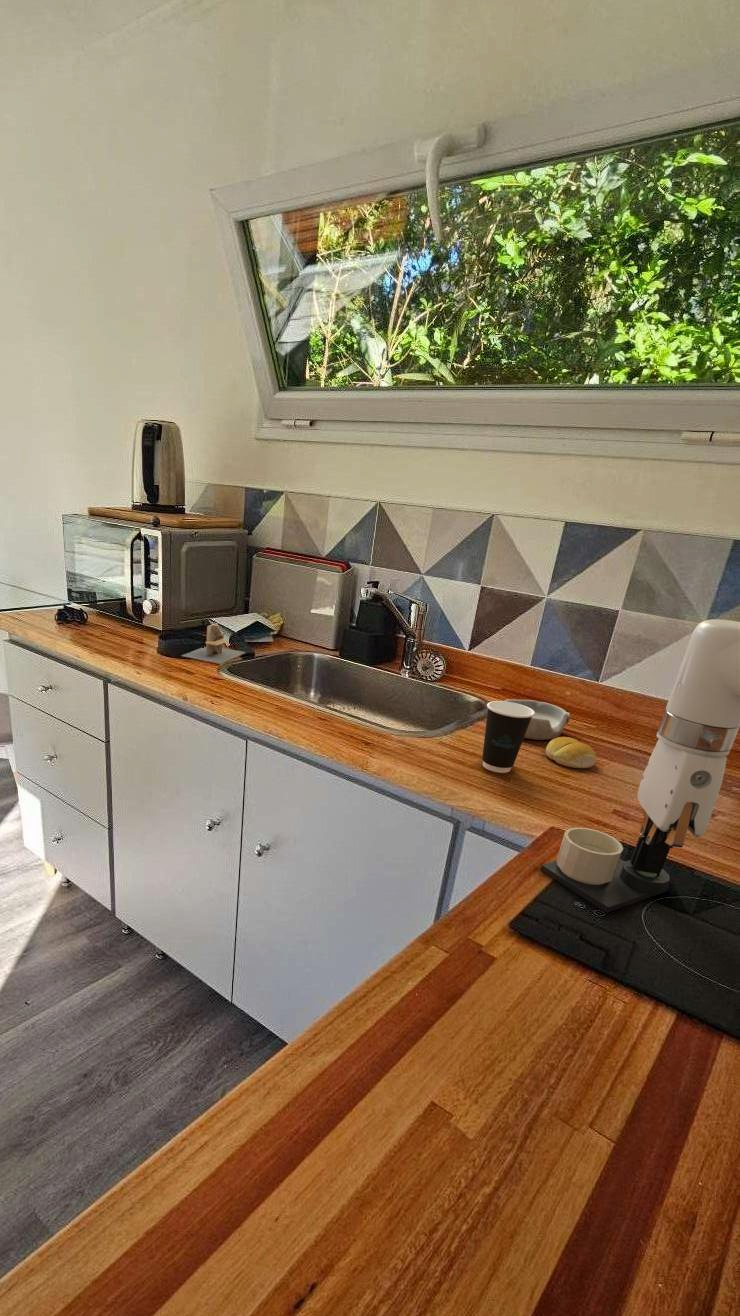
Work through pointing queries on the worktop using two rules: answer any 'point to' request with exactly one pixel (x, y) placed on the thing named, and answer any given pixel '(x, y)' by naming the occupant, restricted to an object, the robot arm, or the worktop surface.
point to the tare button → (647, 874)
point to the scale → (613, 886)
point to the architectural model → (214, 648)
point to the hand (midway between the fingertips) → (644, 868)
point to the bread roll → (571, 752)
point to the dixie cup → (504, 734)
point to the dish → (544, 720)
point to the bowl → (589, 856)
